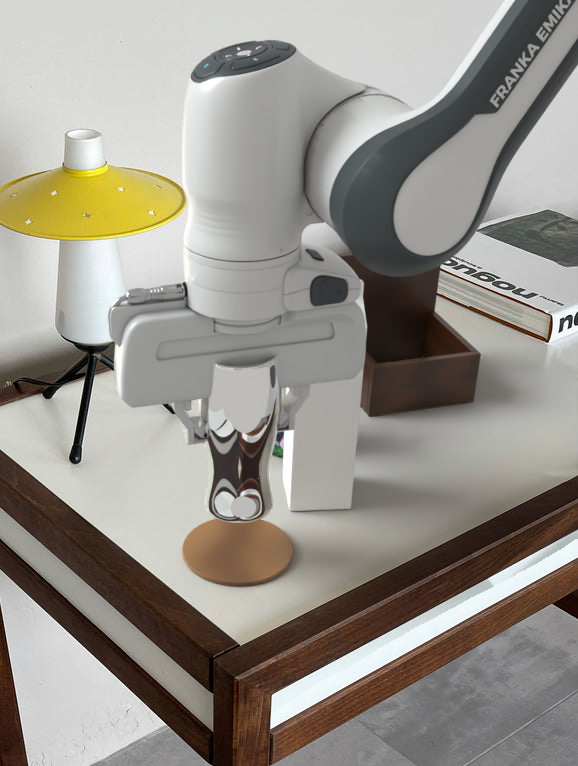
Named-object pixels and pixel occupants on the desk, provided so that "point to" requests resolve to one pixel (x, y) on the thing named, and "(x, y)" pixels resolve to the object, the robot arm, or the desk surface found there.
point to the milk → (324, 444)
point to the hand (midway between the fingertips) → (239, 434)
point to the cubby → (411, 346)
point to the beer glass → (241, 439)
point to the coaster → (237, 552)
